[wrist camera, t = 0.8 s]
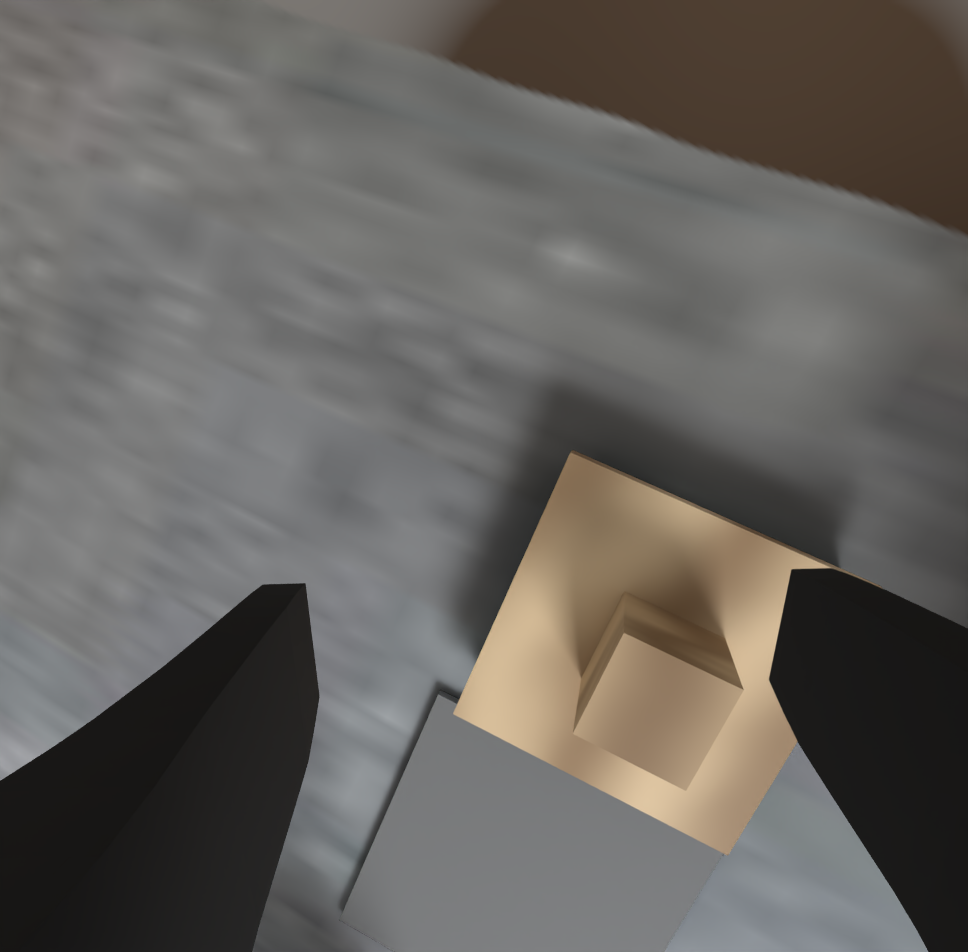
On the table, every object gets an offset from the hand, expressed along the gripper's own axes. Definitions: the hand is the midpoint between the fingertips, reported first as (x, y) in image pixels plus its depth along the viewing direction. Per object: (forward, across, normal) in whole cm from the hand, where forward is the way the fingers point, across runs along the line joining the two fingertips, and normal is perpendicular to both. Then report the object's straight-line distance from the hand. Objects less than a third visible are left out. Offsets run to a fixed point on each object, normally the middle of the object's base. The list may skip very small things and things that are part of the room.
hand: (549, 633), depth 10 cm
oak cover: (+13, -6, +10) cm, 17 cm away
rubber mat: (+13, -1, +23) cm, 27 cm away
